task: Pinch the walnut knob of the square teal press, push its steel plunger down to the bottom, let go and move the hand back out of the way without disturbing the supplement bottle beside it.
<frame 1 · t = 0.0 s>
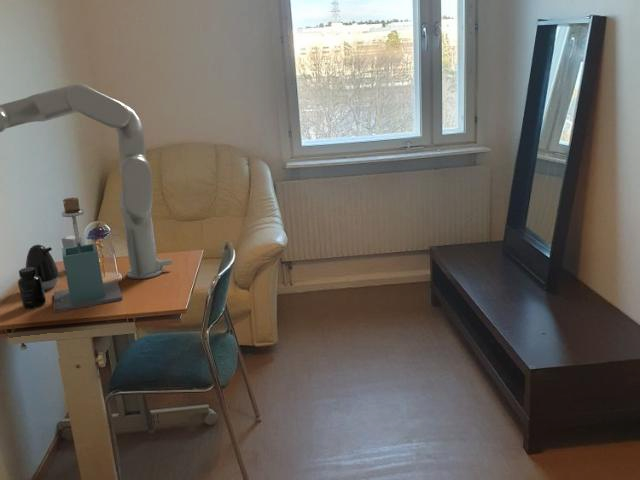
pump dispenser: (45, 288, 220), on the table
supplement bottle: (34, 305, 205), on the table
plunger: (76, 232, 202), point 22 cm above the table, slide at 0.0 cm
skincare box: (77, 269, 238), on the table
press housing: (88, 297, 208), on the table
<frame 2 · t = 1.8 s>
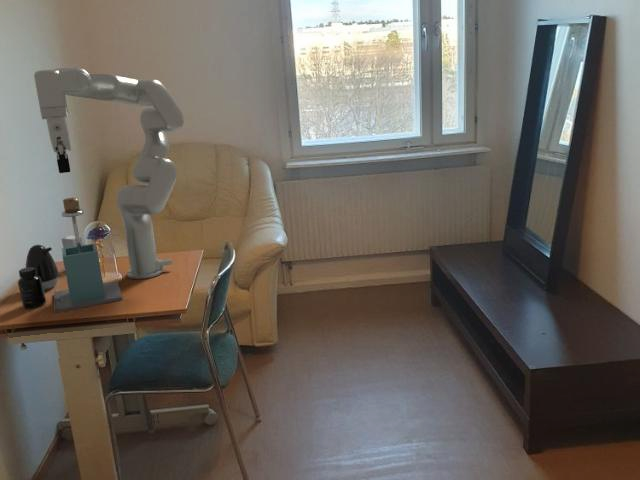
hand: (64, 170, 196), 41 cm above the table, tool pointing down, fingers open, 9 cm apart
nothing on the table moved.
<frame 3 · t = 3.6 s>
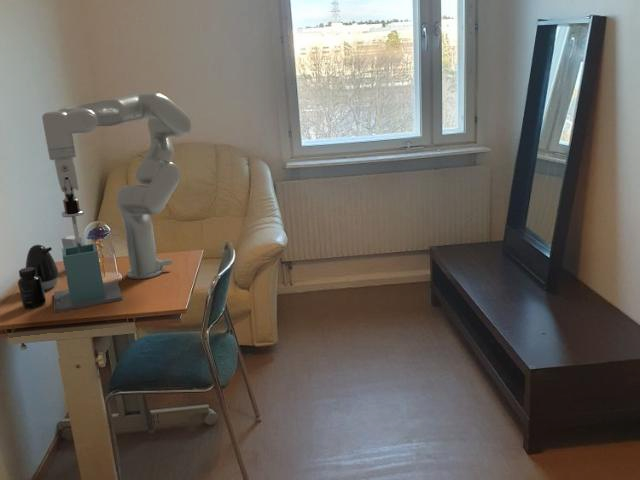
hand: (72, 211, 200), 29 cm above the table, tool pointing down, fingers closed on plunger, 4 cm apart
plunger: (76, 233, 202), point 22 cm above the table, slide at 0.1 cm, touching gripper
everything else where it was.
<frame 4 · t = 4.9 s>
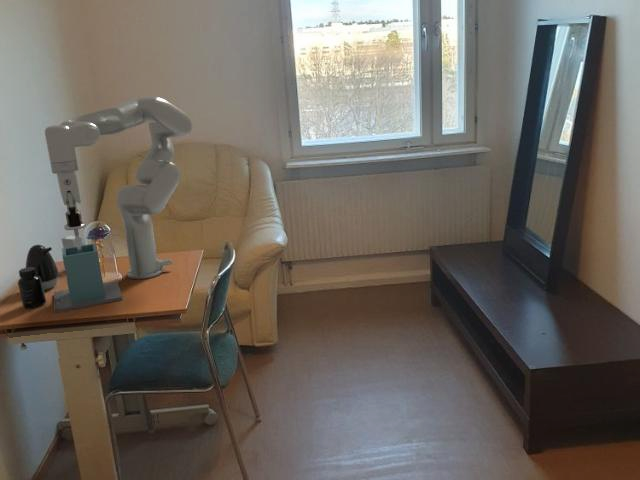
hand: (74, 224, 201), 24 cm above the table, tool pointing down, fingers closed on plunger, 4 cm apart
plunger: (78, 245, 203), point 17 cm above the table, slide at 4.2 cm, touching gripper
everything else where it was.
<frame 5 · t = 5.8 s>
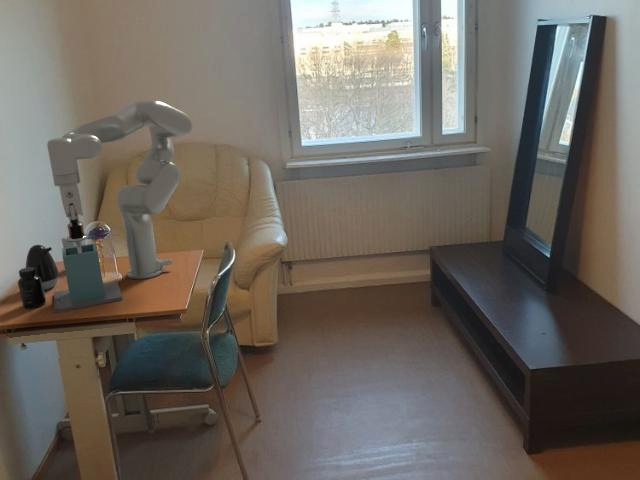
hand: (77, 235, 202), 21 cm above the table, tool pointing down, fingers closed on plunger, 4 cm apart
plunger: (80, 257, 204), point 14 cm above the table, slide at 8.0 cm, touching gripper
everything else where it was.
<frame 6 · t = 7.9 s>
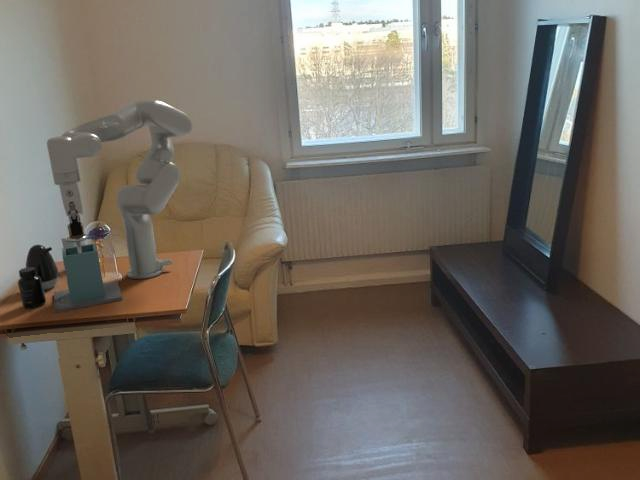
hand: (76, 231, 202), 22 cm above the table, tool pointing down, fingers open, 9 cm apart
plunger: (80, 257, 204), point 14 cm above the table, slide at 8.1 cm
everything else where it was.
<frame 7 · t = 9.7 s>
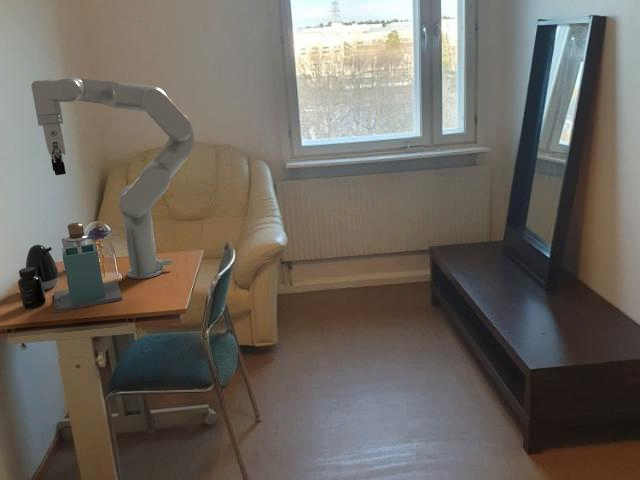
hand: (59, 172, 212), 38 cm above the table, tool pointing down, fingers open, 9 cm apart
nothing on the table moved.
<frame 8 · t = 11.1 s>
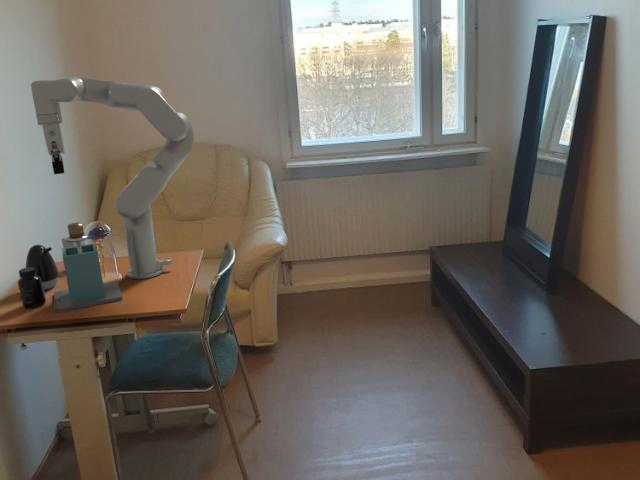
hand: (59, 171, 214), 38 cm above the table, tool pointing down, fingers open, 9 cm apart
nothing on the table moved.
at the end: plunger slide at 8.1 cm; the gripper is holding nothing; supplement bottle tilted 0° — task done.
